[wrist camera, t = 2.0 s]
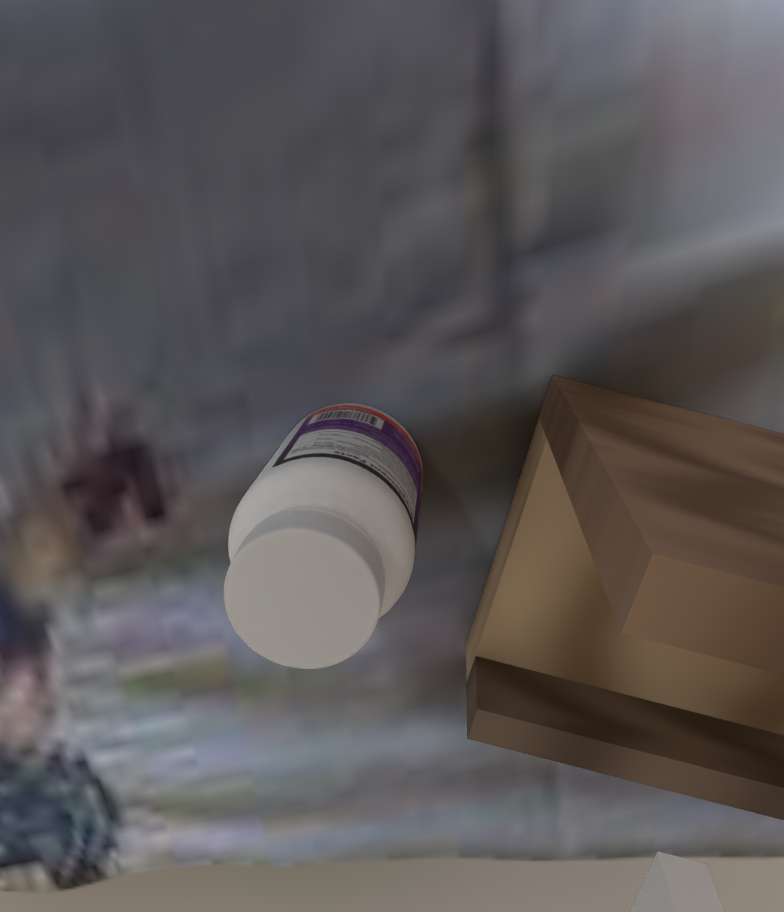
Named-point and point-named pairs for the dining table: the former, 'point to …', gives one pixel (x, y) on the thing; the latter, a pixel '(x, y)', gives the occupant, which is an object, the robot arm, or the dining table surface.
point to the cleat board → (640, 601)
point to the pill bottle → (325, 537)
